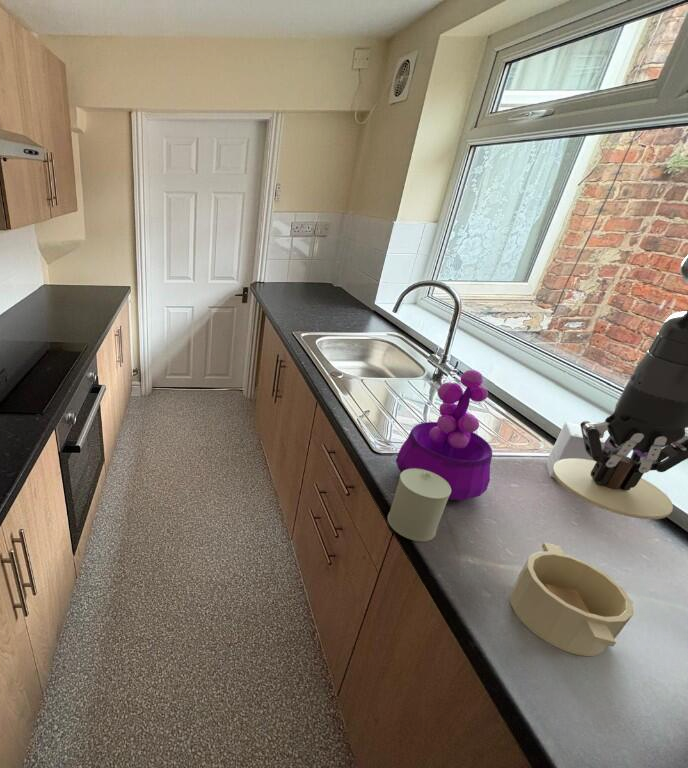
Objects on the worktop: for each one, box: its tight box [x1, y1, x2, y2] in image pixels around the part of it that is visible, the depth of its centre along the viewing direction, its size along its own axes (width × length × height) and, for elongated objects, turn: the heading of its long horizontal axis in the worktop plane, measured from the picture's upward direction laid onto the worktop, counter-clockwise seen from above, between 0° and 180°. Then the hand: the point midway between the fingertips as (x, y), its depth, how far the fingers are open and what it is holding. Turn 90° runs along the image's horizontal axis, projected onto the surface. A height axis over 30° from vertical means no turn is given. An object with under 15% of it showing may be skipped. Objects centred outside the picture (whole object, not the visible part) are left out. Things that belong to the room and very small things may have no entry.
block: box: [544, 584, 590, 613], centre depth 68 cm, size 4×4×4 cm
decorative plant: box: [395, 369, 493, 501], centre depth 93 cm, size 19×18×30 cm
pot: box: [509, 542, 634, 657], centre depth 68 cm, size 13×18×8 cm
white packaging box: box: [545, 421, 609, 479], centre depth 99 cm, size 7×7×13 cm
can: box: [387, 468, 451, 542], centre depth 86 cm, size 9×9×12 cm
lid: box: [552, 456, 674, 520], centre depth 65 cm, size 14×14×6 cm
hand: (610, 484), depth 66 cm, fingers closed on lid, 2 cm apart
